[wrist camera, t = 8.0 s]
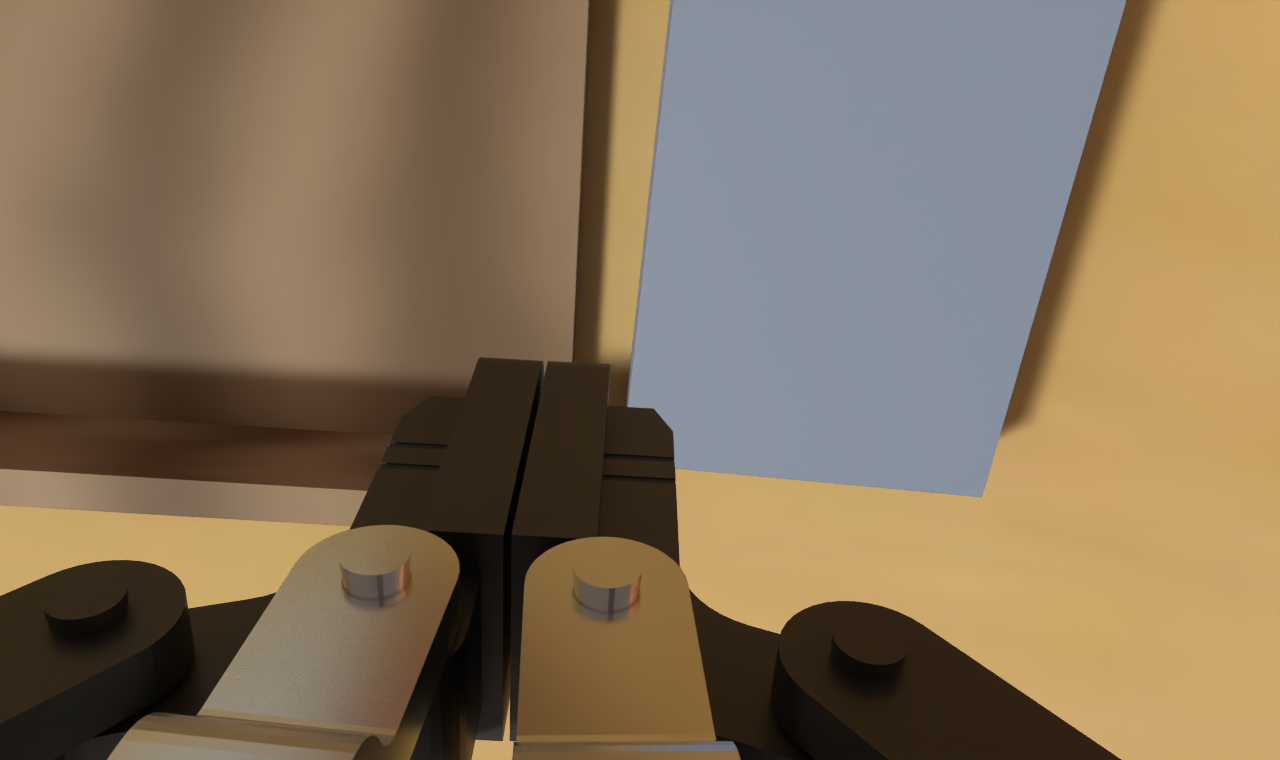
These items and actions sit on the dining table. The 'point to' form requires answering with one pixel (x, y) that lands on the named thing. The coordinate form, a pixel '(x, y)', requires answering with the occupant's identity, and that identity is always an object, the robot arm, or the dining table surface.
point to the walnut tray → (271, 238)
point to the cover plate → (856, 228)
